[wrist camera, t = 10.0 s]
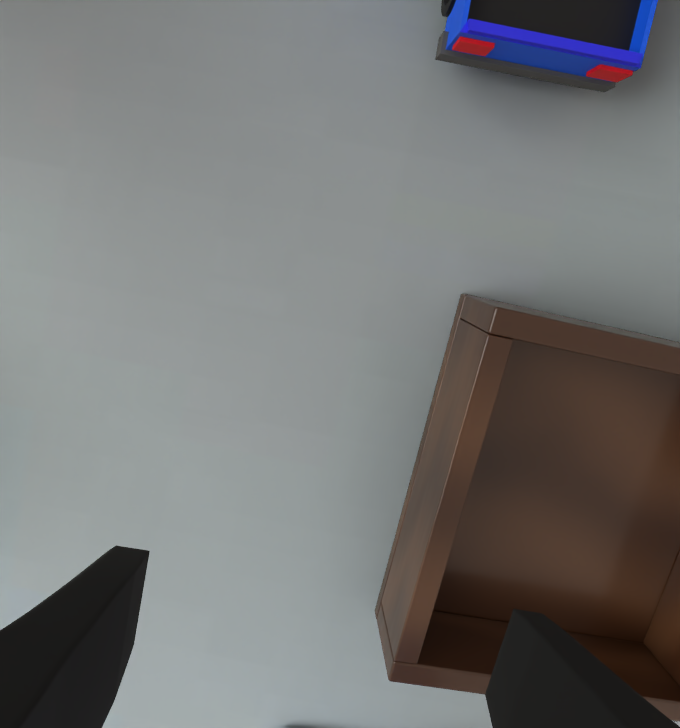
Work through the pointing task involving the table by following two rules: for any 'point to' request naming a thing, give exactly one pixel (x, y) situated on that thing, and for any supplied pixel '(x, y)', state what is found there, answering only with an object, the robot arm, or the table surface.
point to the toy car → (549, 38)
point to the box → (541, 503)
